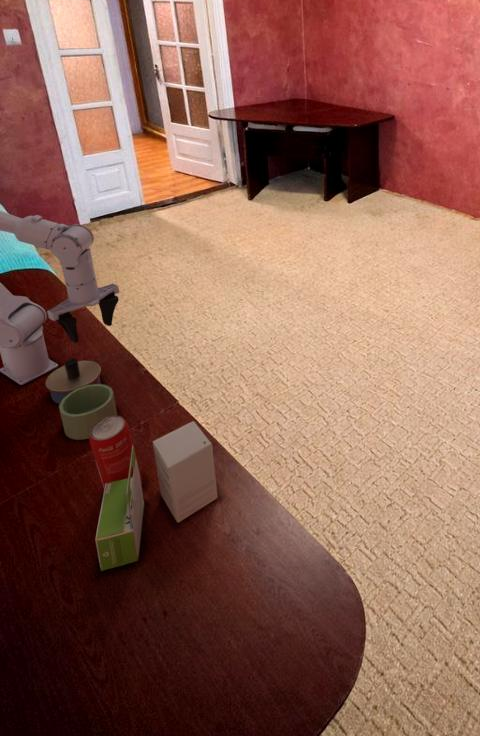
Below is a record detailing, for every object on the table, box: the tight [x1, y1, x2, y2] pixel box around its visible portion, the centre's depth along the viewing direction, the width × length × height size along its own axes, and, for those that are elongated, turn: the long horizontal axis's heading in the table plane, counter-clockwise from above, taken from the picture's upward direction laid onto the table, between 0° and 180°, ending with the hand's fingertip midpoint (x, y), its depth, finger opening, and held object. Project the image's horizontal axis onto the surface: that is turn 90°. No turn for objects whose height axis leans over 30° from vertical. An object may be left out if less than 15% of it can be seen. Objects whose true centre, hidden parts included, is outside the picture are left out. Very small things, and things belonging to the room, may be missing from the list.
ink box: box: [94, 444, 145, 572], centre depth 75 cm, size 10×5×14 cm, turn 22°
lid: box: [45, 358, 102, 393], centre depth 106 cm, size 10×10×5 cm
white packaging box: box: [152, 420, 219, 524], centre depth 83 cm, size 7×7×13 cm
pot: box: [58, 383, 118, 441], centre depth 98 cm, size 9×9×6 cm
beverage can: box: [88, 415, 143, 490], centre depth 83 cm, size 6×6×15 cm
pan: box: [49, 375, 102, 405], centre depth 107 cm, size 9×9×4 cm
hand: (91, 332), depth 111 cm, fingers open, 7 cm apart
